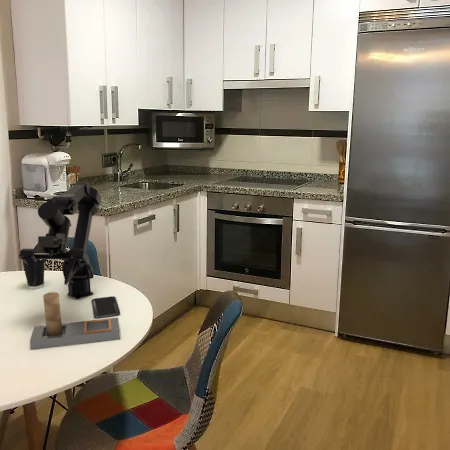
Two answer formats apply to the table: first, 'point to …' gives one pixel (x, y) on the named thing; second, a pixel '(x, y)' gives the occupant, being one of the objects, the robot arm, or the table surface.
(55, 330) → the peg
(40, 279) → the dixie cup
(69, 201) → the robot arm
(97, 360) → the table surface
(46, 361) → the table surface
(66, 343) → the plate with square holes
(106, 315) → the phone
